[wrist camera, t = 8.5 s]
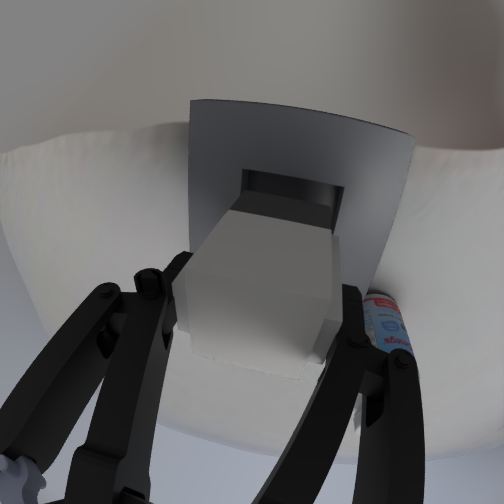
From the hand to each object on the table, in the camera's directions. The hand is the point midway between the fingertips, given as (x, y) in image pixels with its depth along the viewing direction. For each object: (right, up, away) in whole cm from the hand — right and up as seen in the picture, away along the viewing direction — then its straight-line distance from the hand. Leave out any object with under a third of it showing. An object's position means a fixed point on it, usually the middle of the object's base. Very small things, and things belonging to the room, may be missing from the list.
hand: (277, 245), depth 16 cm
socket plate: (+1, +3, +4) cm, 5 cm away
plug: (0, +1, +1) cm, 1 cm away
